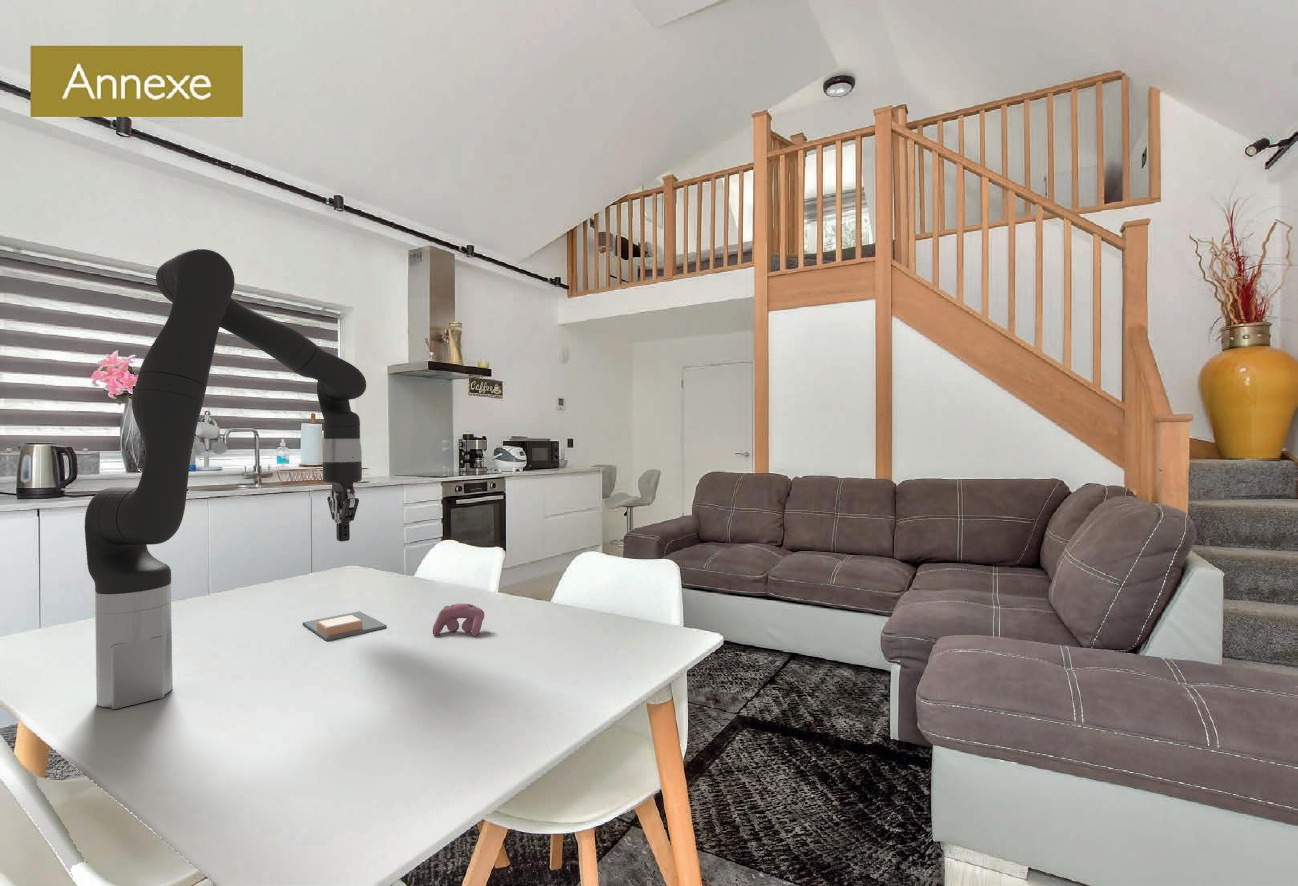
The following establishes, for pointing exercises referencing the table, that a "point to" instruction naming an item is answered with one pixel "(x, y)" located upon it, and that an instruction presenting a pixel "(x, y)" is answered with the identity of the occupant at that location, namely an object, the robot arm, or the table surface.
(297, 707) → the table surface
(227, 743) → the table surface
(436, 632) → the video game controller
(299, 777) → the table surface
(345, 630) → the tile
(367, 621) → the mat
